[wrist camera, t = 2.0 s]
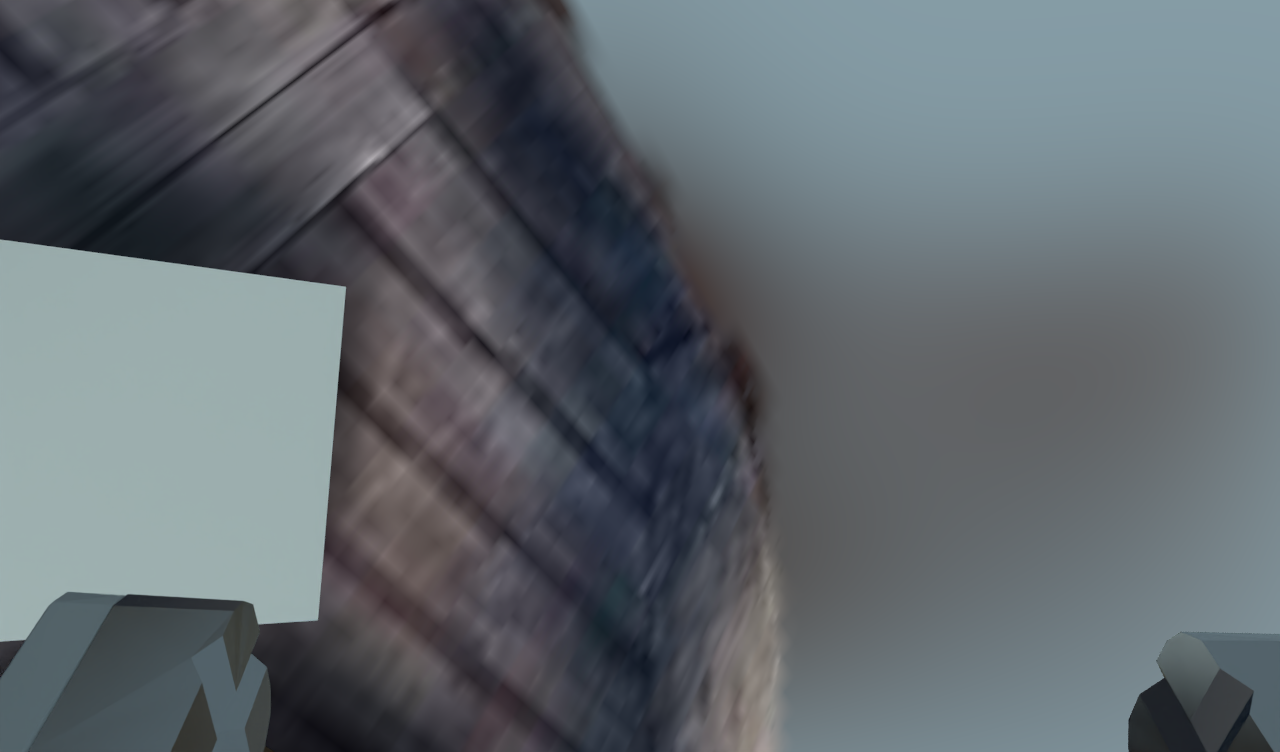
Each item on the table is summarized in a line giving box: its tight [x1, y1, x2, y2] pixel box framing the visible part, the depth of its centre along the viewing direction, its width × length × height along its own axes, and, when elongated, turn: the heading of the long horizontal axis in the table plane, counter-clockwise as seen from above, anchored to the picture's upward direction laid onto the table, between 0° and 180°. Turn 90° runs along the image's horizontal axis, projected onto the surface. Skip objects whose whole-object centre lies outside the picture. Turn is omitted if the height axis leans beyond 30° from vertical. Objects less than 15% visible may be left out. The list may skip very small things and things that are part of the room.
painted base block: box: [0, 240, 346, 641], centre depth 40 cm, size 14×14×6 cm
